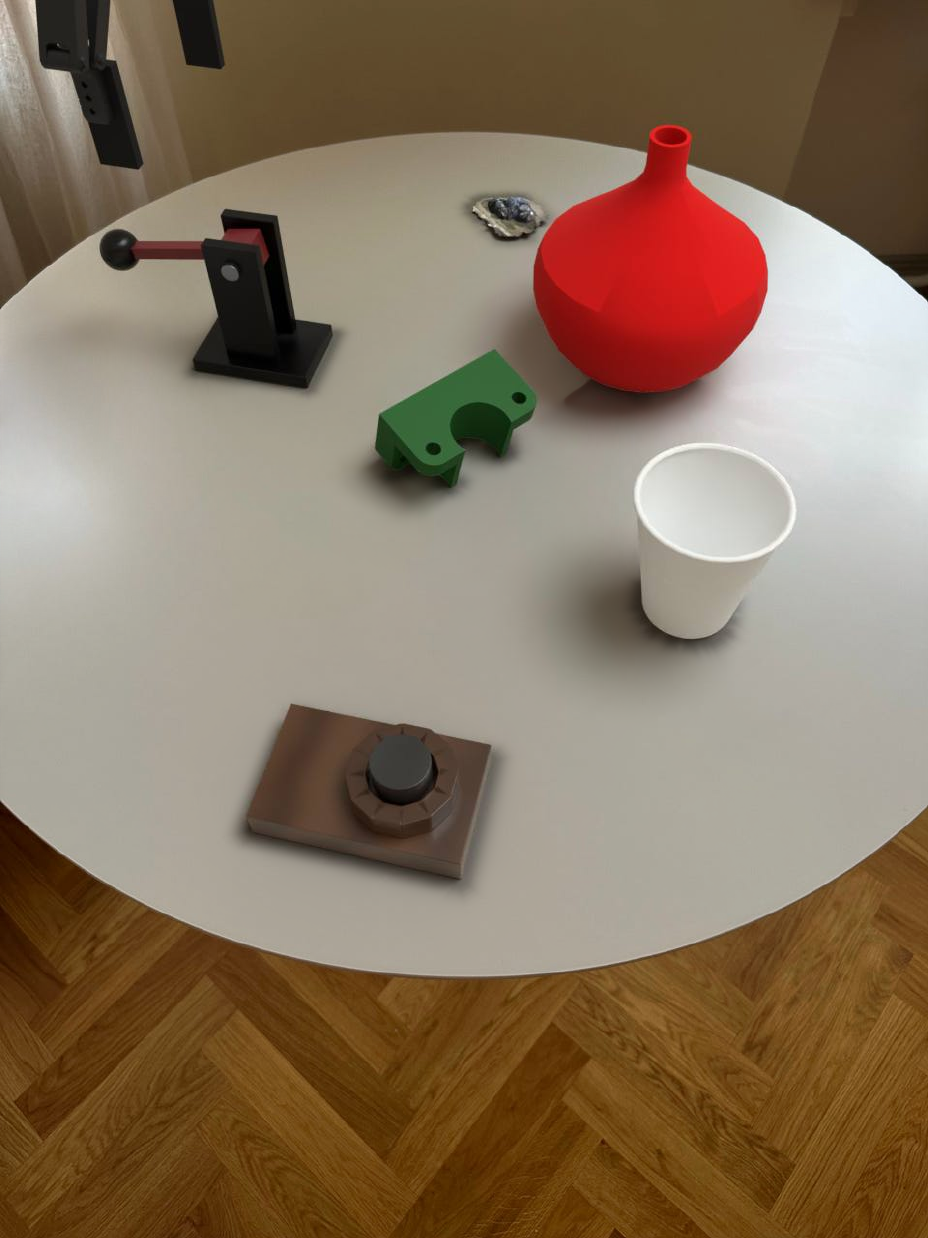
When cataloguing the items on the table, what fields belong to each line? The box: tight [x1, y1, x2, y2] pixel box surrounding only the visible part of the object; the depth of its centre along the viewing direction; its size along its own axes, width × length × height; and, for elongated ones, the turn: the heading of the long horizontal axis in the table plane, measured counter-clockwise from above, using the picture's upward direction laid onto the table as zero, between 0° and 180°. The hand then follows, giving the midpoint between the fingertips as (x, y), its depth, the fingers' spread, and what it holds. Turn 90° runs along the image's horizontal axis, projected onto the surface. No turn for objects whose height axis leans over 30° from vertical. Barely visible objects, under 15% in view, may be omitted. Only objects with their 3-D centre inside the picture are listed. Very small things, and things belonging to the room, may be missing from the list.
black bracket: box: [192, 208, 334, 389], centre depth 84 cm, size 10×7×12 cm
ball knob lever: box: [98, 228, 269, 272], centre depth 82 cm, size 14×3×3 cm, turn 76°
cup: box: [632, 442, 797, 640], centre depth 68 cm, size 10×10×11 cm
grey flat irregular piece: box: [471, 196, 551, 238], centre depth 99 cm, size 7×8×2 cm
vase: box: [532, 124, 769, 394], centre depth 81 cm, size 18×18×19 cm
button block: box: [246, 703, 492, 880], centre depth 62 cm, size 13×8×4 cm, turn 76°
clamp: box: [374, 348, 538, 488], centre depth 79 cm, size 12×6×9 cm, turn 124°
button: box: [369, 734, 433, 803], centre depth 60 cm, size 4×4×2 cm
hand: (166, 112), depth 71 cm, fingers open, 13 cm apart
